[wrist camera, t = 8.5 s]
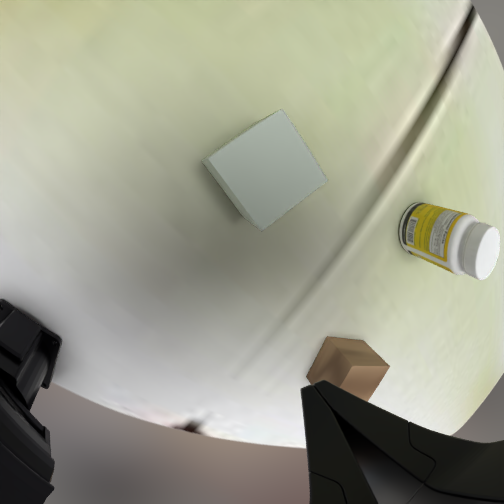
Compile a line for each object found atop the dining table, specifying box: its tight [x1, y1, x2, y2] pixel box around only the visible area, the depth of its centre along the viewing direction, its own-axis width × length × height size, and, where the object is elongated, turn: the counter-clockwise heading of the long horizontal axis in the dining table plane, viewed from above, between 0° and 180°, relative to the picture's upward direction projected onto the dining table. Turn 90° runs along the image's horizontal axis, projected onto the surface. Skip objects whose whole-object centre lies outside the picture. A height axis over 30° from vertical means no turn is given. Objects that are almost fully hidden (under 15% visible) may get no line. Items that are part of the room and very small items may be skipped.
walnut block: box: [306, 336, 390, 402], centre depth 22 cm, size 4×4×4 cm
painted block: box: [202, 109, 328, 231], centre depth 16 cm, size 4×4×4 cm
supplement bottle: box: [399, 203, 500, 280], centre depth 19 cm, size 5×5×8 cm
